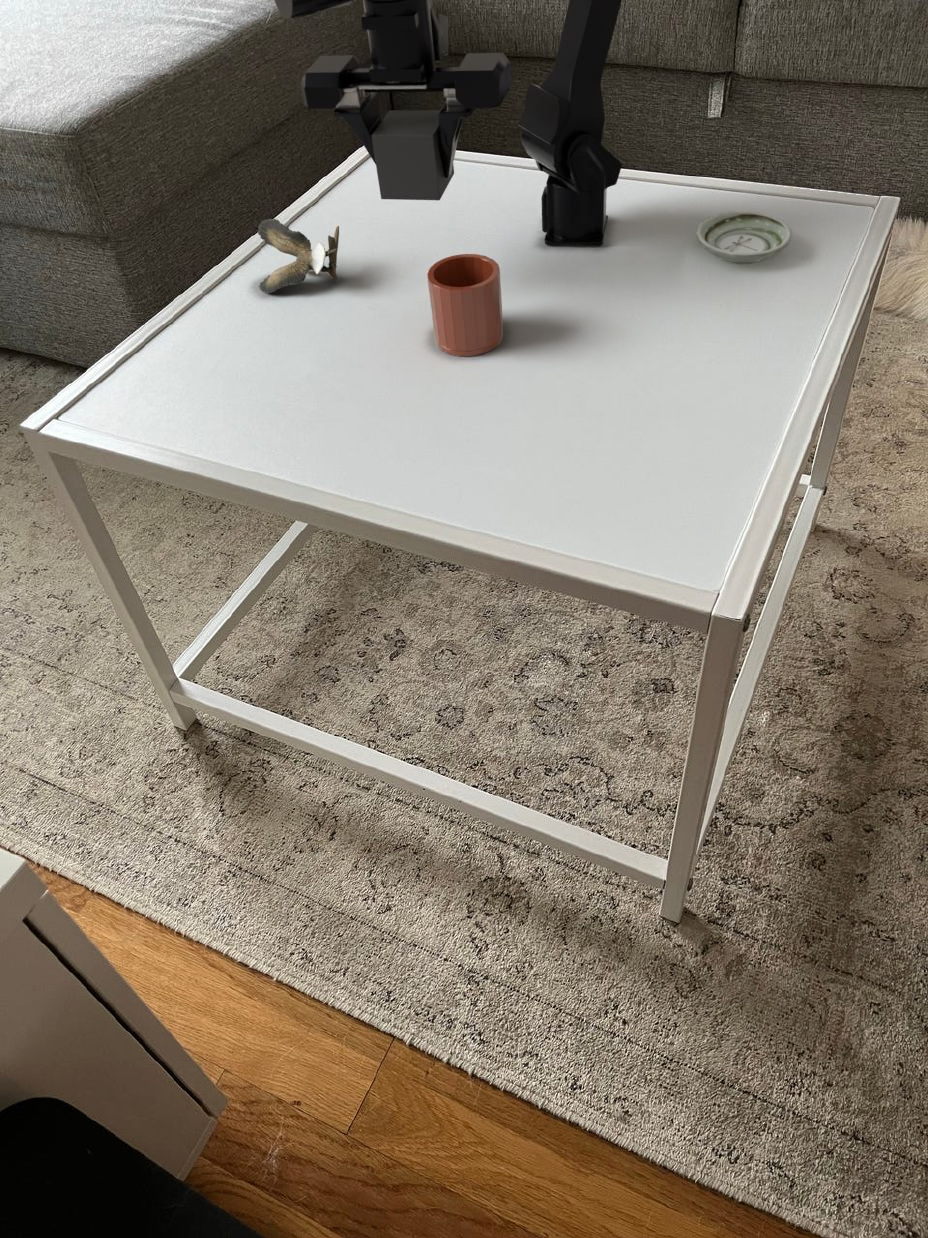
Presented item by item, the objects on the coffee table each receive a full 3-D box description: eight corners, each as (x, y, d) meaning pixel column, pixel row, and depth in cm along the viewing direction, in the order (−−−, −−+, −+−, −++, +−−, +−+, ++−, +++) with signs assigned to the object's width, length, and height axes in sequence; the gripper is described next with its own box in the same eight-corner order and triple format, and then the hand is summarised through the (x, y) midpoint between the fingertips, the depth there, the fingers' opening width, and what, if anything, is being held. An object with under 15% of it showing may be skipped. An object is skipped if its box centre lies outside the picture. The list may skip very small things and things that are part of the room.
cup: (508, 320, 94) (505, 254, 89) (496, 357, 90) (492, 290, 85) (443, 317, 96) (436, 252, 90) (428, 355, 91) (420, 288, 86)
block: (454, 173, 94) (448, 109, 89) (439, 200, 90) (432, 135, 86) (397, 172, 95) (389, 109, 91) (381, 199, 91) (371, 135, 87)
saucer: (768, 283, 95) (772, 260, 93) (679, 264, 99) (681, 242, 97) (801, 241, 100) (805, 218, 98) (715, 225, 104) (718, 203, 102)
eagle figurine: (341, 246, 106) (260, 239, 105) (338, 209, 98) (252, 201, 98) (337, 309, 104) (255, 302, 104) (334, 276, 97) (247, 269, 97)
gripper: (519, -40, 83) (525, 142, 95) (323, -33, 87) (353, 141, 99) (493, 0, 76) (503, 191, 88) (282, 6, 80) (318, 188, 92)
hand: (417, 175), depth 92 cm, fingers closed on block, 6 cm apart
